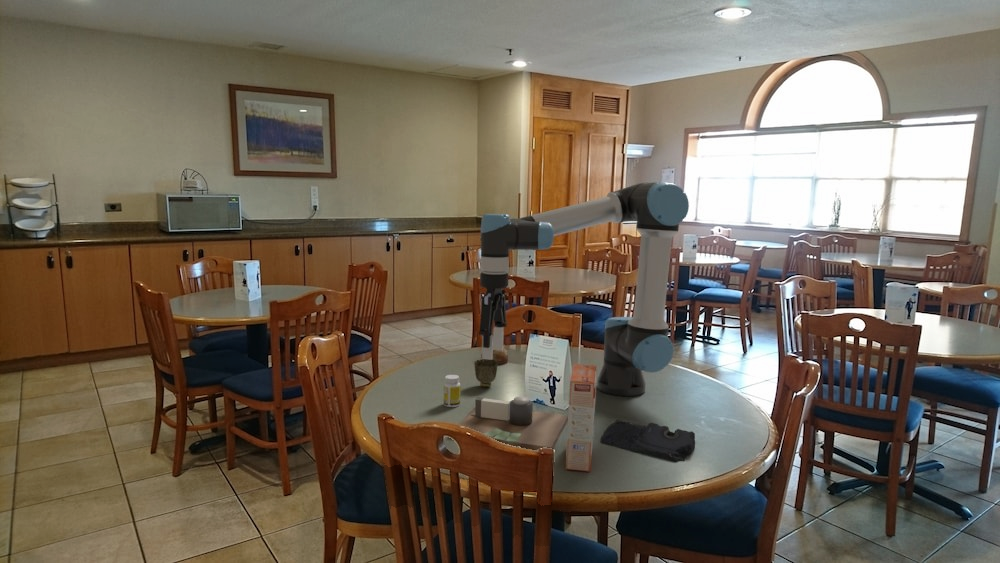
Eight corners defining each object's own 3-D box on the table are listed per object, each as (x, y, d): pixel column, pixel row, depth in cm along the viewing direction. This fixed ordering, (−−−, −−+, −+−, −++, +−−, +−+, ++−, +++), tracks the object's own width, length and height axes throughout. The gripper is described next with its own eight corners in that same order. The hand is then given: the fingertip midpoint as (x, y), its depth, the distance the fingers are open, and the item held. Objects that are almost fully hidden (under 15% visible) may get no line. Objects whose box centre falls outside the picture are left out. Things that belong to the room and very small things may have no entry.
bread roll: (479, 372, 218) (478, 355, 214) (484, 353, 227) (483, 337, 222) (506, 374, 217) (505, 357, 212) (510, 355, 225) (509, 338, 221)
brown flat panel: (568, 419, 164) (568, 414, 164) (550, 454, 142) (550, 449, 142) (478, 408, 172) (478, 403, 172) (447, 439, 150) (447, 434, 149)
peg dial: (534, 418, 161) (535, 396, 160) (529, 426, 155) (529, 404, 154) (480, 411, 165) (480, 390, 164) (472, 418, 159) (473, 397, 159)
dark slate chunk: (616, 425, 163) (617, 408, 162) (700, 444, 151) (701, 426, 151) (595, 444, 150) (596, 426, 149) (684, 466, 138) (686, 447, 138)
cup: (496, 390, 187) (497, 365, 186) (473, 390, 187) (473, 365, 186) (497, 383, 195) (498, 359, 193) (474, 382, 195) (475, 358, 193)
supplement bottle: (462, 403, 175) (463, 375, 174) (456, 408, 171) (456, 380, 170) (447, 401, 177) (447, 373, 176) (440, 406, 173) (441, 378, 171)
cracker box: (592, 473, 133) (596, 382, 130) (564, 470, 134) (568, 380, 131) (593, 447, 147) (597, 364, 144) (568, 445, 148) (571, 362, 145)
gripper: (493, 266, 171) (491, 343, 175) (467, 276, 151) (465, 363, 154) (518, 268, 169) (516, 346, 173) (495, 278, 149) (493, 366, 152)
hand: (492, 354), depth 163 cm, fingers open, 9 cm apart
